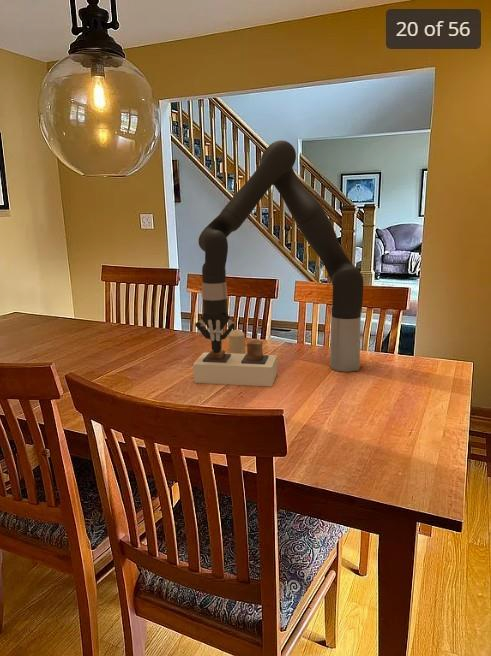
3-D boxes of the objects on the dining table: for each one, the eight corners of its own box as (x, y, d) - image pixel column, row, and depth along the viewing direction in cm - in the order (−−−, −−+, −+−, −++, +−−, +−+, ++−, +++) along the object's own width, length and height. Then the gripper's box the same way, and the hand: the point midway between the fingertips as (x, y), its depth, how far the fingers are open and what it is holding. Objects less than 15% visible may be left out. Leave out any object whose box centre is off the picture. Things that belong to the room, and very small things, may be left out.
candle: (243, 360, 170) (242, 332, 168) (227, 359, 171) (227, 332, 169) (246, 355, 175) (245, 328, 173) (231, 355, 177) (230, 328, 174)
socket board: (277, 372, 157) (277, 353, 155) (271, 386, 146) (271, 365, 144) (204, 369, 162) (203, 350, 160) (193, 382, 150) (192, 362, 149)
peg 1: (225, 370, 156) (224, 350, 154) (222, 374, 152) (221, 353, 150) (213, 369, 157) (212, 349, 155) (209, 373, 153) (208, 353, 151)
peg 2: (262, 361, 153) (262, 340, 151) (260, 365, 149) (260, 344, 147) (249, 360, 154) (249, 340, 152) (247, 364, 150) (247, 343, 148)
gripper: (238, 294, 151) (240, 349, 155) (197, 294, 153) (199, 347, 158) (233, 299, 144) (234, 356, 148) (190, 298, 146) (192, 354, 151)
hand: (216, 351), depth 153 cm, fingers closed
